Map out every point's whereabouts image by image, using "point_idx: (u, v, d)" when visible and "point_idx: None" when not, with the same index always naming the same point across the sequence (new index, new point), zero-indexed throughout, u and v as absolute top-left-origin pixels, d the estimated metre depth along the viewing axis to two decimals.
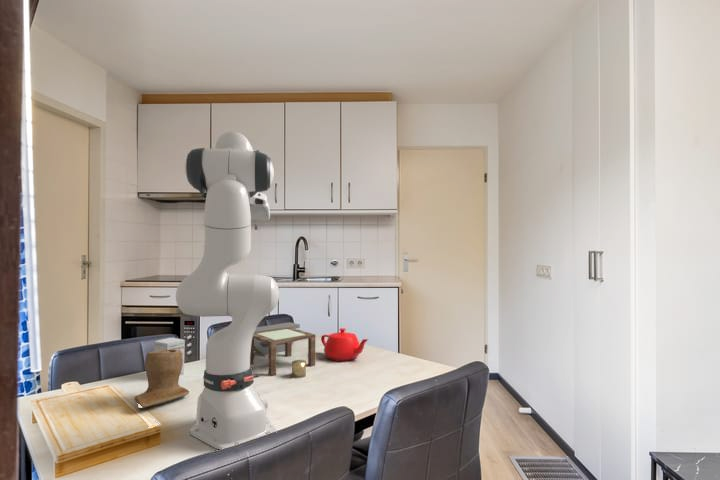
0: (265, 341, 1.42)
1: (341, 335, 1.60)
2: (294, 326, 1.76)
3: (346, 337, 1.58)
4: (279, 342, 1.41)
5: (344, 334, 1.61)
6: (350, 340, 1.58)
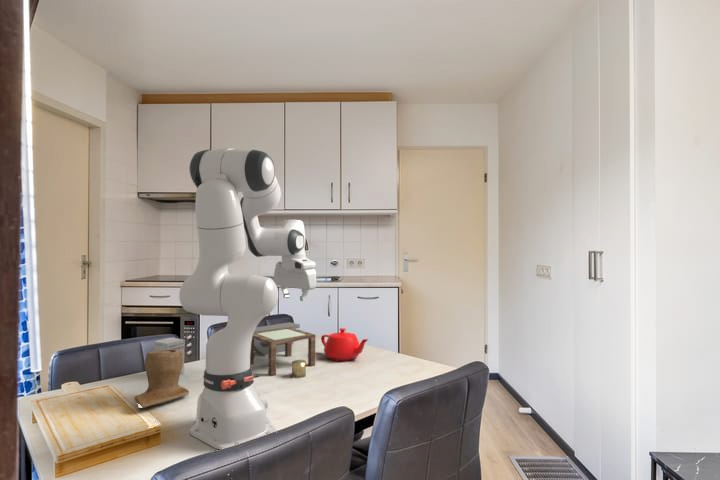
0: (265, 341, 1.42)
1: (341, 335, 1.60)
2: (294, 326, 1.76)
3: (346, 337, 1.58)
4: (279, 342, 1.41)
5: (344, 334, 1.61)
6: (350, 340, 1.58)
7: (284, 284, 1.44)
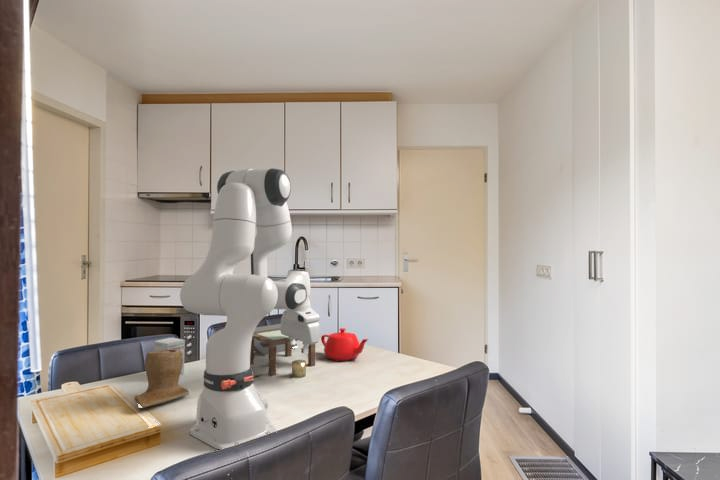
0: (265, 341, 1.42)
1: (341, 335, 1.60)
2: None
3: (346, 337, 1.58)
4: (279, 342, 1.41)
5: (344, 334, 1.61)
6: (350, 340, 1.58)
7: (289, 335, 1.42)
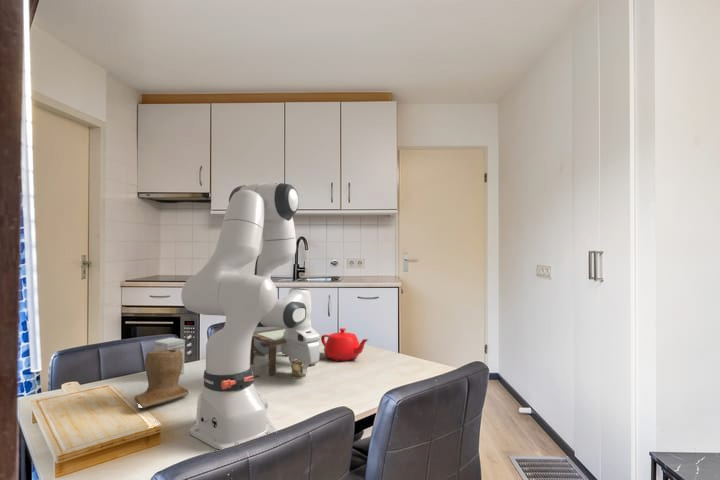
0: (265, 341, 1.42)
1: (341, 335, 1.60)
2: None
3: (346, 337, 1.58)
4: (279, 342, 1.41)
5: (344, 334, 1.61)
6: (350, 340, 1.58)
7: (289, 354, 1.40)
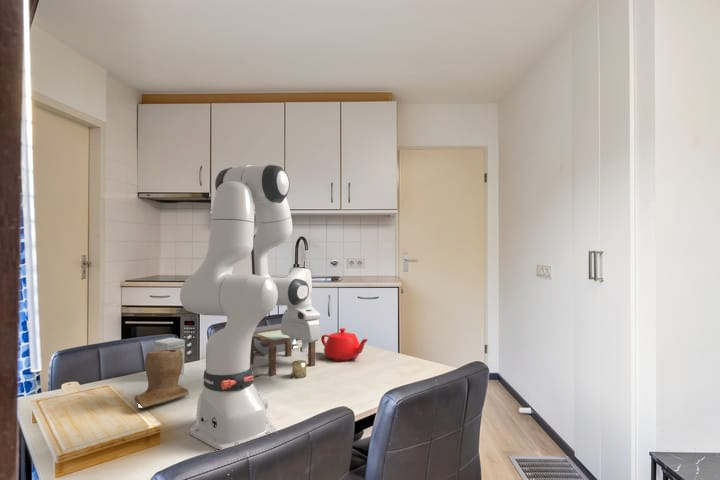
0: (265, 341, 1.42)
1: (341, 335, 1.60)
2: None
3: (346, 337, 1.58)
4: (279, 342, 1.41)
5: (344, 334, 1.61)
6: (350, 340, 1.58)
7: (289, 334, 1.40)
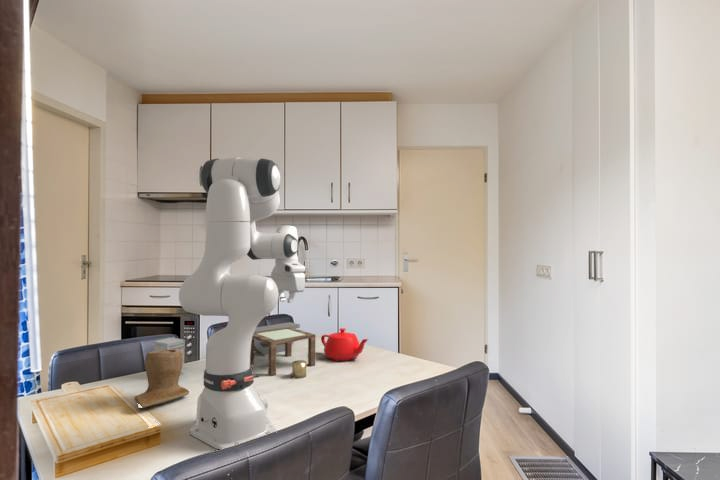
0: (265, 341, 1.42)
1: (341, 335, 1.60)
2: (294, 326, 1.76)
3: (346, 337, 1.58)
4: (279, 342, 1.41)
5: (344, 334, 1.61)
6: (350, 340, 1.58)
7: (277, 287, 1.51)
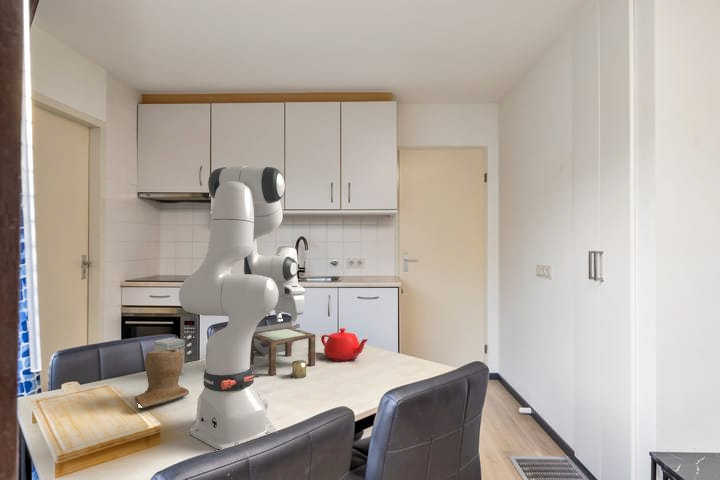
0: (265, 341, 1.42)
1: (341, 335, 1.60)
2: (294, 326, 1.76)
3: (346, 337, 1.58)
4: (279, 342, 1.41)
5: (344, 334, 1.61)
6: (350, 340, 1.58)
7: (277, 308, 1.51)
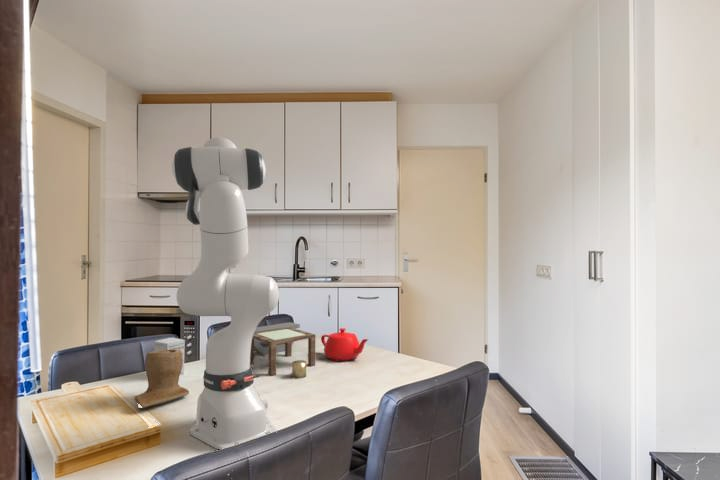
0: (265, 341, 1.42)
1: (341, 335, 1.60)
2: (294, 326, 1.76)
3: (346, 337, 1.58)
4: (279, 342, 1.41)
5: (344, 334, 1.61)
6: (350, 340, 1.58)
7: None
